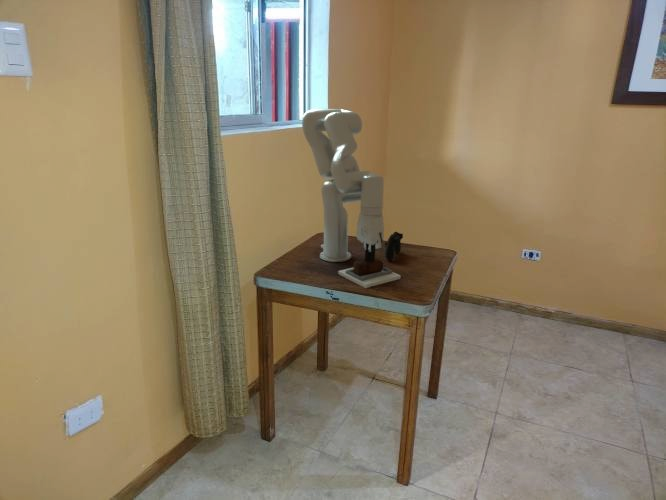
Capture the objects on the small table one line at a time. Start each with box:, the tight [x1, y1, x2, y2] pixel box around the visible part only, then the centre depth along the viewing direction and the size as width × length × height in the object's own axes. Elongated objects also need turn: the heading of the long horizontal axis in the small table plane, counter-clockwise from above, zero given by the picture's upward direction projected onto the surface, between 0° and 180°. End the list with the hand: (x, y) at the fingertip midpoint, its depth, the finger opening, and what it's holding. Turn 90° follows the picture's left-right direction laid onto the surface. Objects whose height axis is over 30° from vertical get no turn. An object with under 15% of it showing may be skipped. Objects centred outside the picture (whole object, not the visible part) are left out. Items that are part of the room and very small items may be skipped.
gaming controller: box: [384, 231, 404, 262], centre depth 186 cm, size 14×6×10 cm, turn 157°
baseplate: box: [337, 266, 401, 289], centre depth 165 cm, size 16×16×2 cm
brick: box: [353, 257, 384, 276], centre depth 165 cm, size 11×4×5 cm, turn 123°
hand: (369, 260), depth 164 cm, fingers closed
